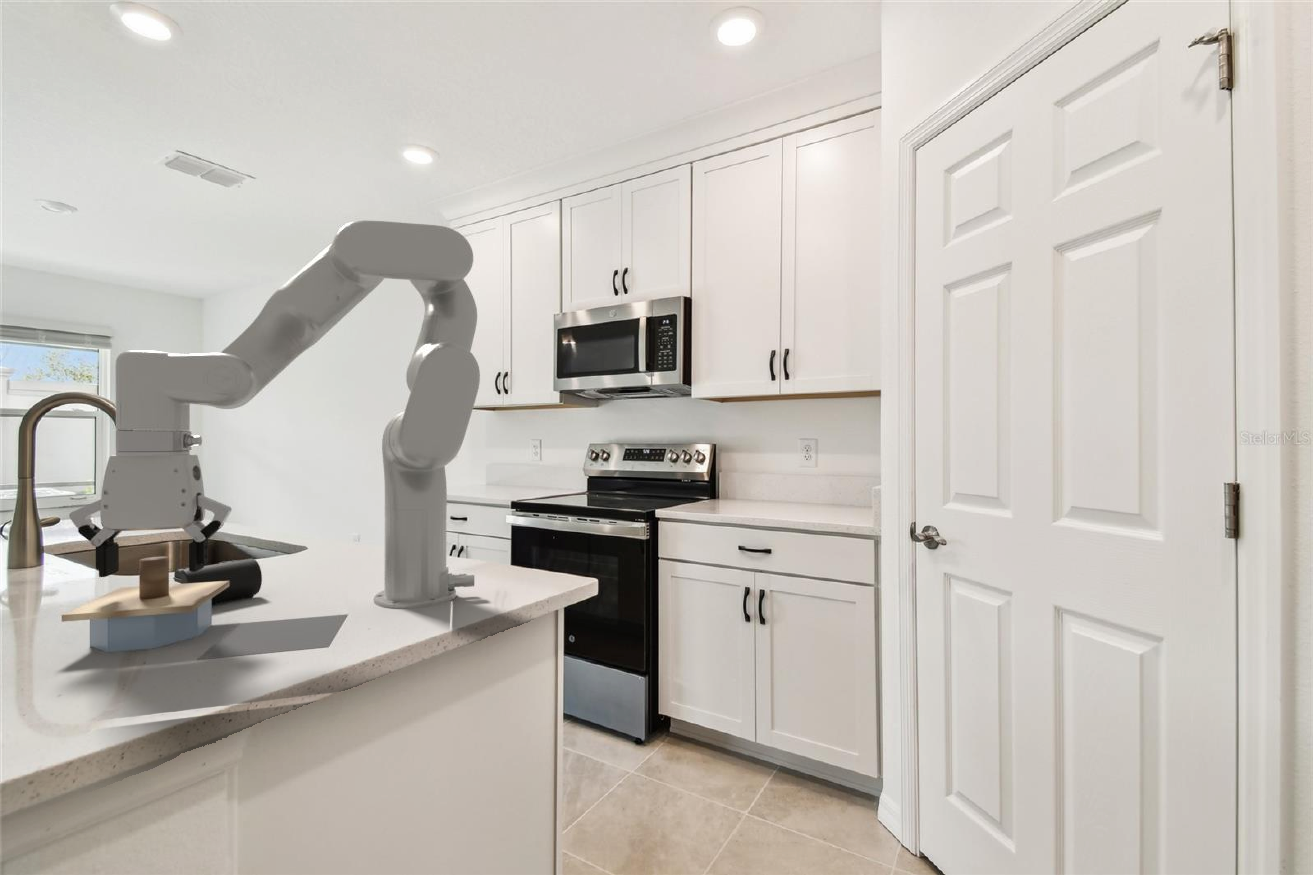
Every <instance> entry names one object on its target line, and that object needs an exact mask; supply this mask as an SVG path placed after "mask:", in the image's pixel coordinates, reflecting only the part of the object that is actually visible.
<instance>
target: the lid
mask: <svg viewBox="0 0 1313 875" xmlns="http://www.w3.org/2000/svg"><path fill="white" fill-rule="evenodd" d="M138 562H139V564H138V566H139V567H138V568H139V572H138V574H139V577H138V578H139V580H138V582H139V586H127V587H119V588H116V589H115V590H112V591H111V592H108V593H106V594H104V595H102V596H99V597H97V598H95V599H93V600H90V601H89V602H87V603H84V604H82V605H80V606H79V607H76V608H74V609H72V610H69V611H67V612H65V613H63V614H61V622H77V621H87V620H89V621H90V620H91V619H104V618H117V617H130V616H143V615H156V614H169V613H182V612H192V611H194V610H195V609H197V608H198V607H200V606H201V605H203V604H204V603H205V602H207V601H208V600H210V599H211V598H213V597H214V596H216V595H217V594H219V593H220V592H222V591H223V590H225V589H226V588H227V587H229V581H218V582H202V583H186V584H181V583H175V584H170V564H169V563H170V558H169V556H152V557H145V558H141V559H139V561H138Z"/></svg>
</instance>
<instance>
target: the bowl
mask: <svg viewBox="0 0 1313 875" xmlns="http://www.w3.org/2000/svg"><path fill="white" fill-rule="evenodd" d="M212 608H213V605H212V598H211V599H210V600H208V601H207V602H205V603H204V604H203V605H201V606H200V607H198V608H197V609H195V610H194V611H192V612H182V613H169V614H156V615H143V616H130V617H117V618H104V619H91V620H89V647H90V648H91V647H92V648H95V649H98V650H100V651H103V652H106V653H114V652H124V651H125V652H126V651H136V650H147V649H156V648H160V647H163V646H167V645H170V644H174V643H177V642H181V641H186V640H189V639H192V638H193V639H194V638H196V637H199V636H200V635H201V634H203V633H204V632H206V630H208V629H209V628H210V627H212V625H213V624H212V623H213V622H212V620H213V618H212V617H213V614H212V613H213V612H212V611H213V610H212Z"/></svg>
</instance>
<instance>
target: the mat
mask: <svg viewBox="0 0 1313 875" xmlns="http://www.w3.org/2000/svg"><path fill="white" fill-rule="evenodd" d="M348 616H349V615H348V614H336V615H324V616H323V615H322V616H313V617H311V616H310V617H302V618H301V617H298V618H289V619H286V618H285V619H275V620H264V621H253V622H250V621H249V622H239V623H237V624H236V625H234V627H232V628H231V629H230V630H229V631H228V632H227V633H225V635H223V636H222V637H220V639H219V640H218V641H216V643H214V644H213V645H212V646H211V647H209V649H207V650H206V651H205V652H204V653H203V654H202V655H201V656H199V657H198V658H196V661H202V660H210V659H211V660H213V659H223V658H231V657H244V656H251V655H252V656H253V655H262V654H273V653H281V652H292V651H302V650H303V651H305V650H313V649H324V648H325V649H326V648H329V647H330V645H331V644H332V642H333V641H334V639H335V637H336V636H337V634H338V632H339V630H340V628H341V627H342V625H343V624H344V622H345V620H346V619H347V617H348Z"/></svg>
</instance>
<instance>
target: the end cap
mask: <svg viewBox="0 0 1313 875" xmlns="http://www.w3.org/2000/svg"><path fill="white" fill-rule="evenodd" d="M173 574H174V576H173V578H172V579H173V580H174V582H175V583H177V584H186V583H202V582H218V581H229V587H227V588H226V589H225V590H223V591H222V592H220V593H219V594H217V595H216V596H214V597H213V598H212V606H214V605H219V604H223V603H228V602H233V601H237V600H243V599H253V598H254V597H255V595H257V594H259V591H260V590H261V588H262V583H263V575H262V569H261V567H260V564H259V563H258V561H257V560H256V559H254V558H247V559H246V558H245V559H240V560H239V559H238V560H237V559H231V560H227V561H225V560H222V561H221V562H218V563H214V564H208V565H204V568H202V569H200V570H198V571H196V572H191V571H189V567H185V566H183V567H182V568H179V569H176V570H175V571H174V573H173Z"/></svg>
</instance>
